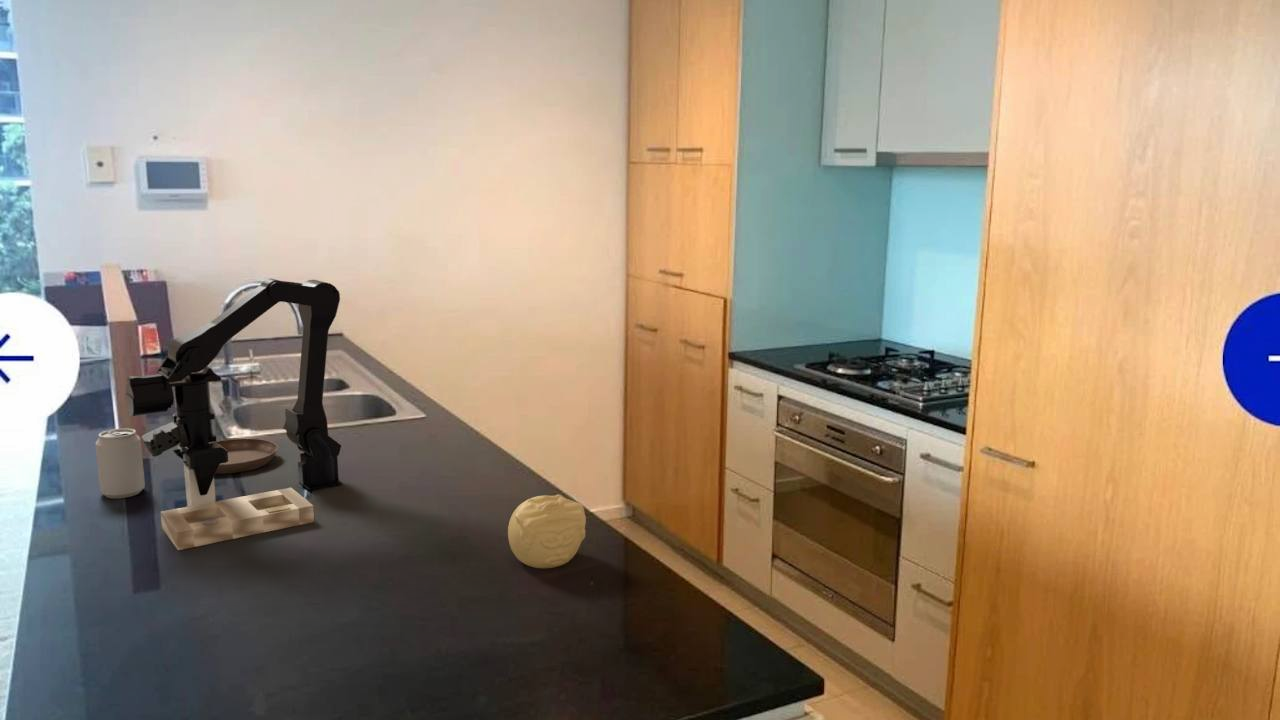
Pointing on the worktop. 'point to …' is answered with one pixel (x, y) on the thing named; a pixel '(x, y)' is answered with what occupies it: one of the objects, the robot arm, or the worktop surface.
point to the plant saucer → (246, 454)
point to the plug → (196, 488)
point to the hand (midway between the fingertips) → (200, 491)
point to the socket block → (235, 518)
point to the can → (120, 463)
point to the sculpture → (546, 531)
